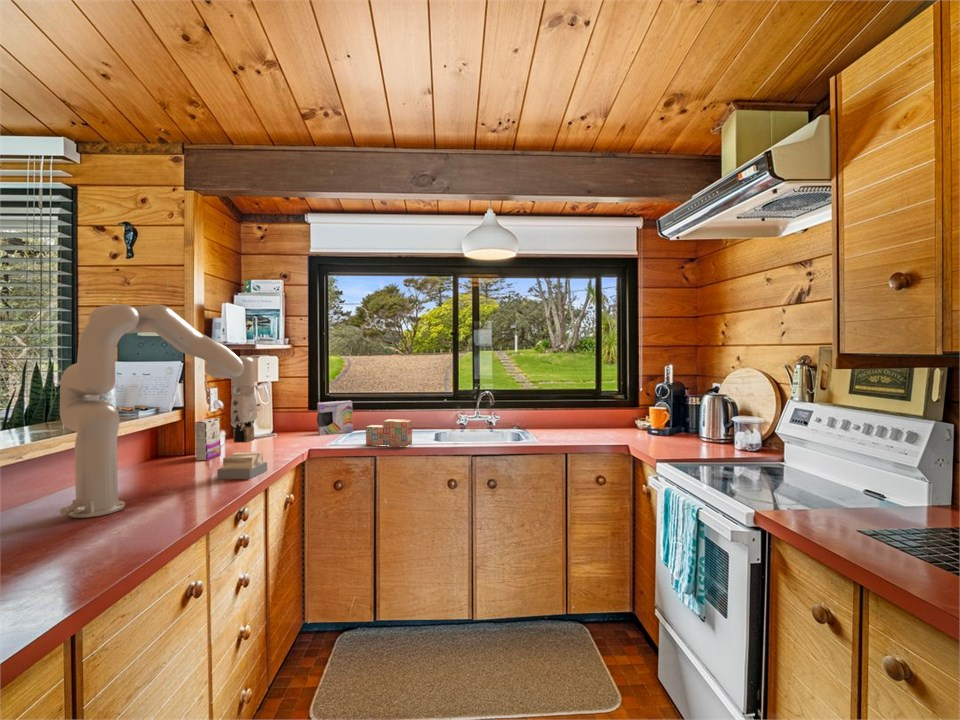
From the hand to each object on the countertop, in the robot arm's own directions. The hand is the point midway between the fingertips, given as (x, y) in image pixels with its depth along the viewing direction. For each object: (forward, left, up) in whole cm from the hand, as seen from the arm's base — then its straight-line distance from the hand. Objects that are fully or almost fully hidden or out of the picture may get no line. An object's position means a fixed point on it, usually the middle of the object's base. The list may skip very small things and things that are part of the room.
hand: (244, 439), depth 179 cm
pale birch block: (0, 0, -10) cm, 10 cm away
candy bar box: (+28, +32, -13) cm, 45 cm away
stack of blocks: (+58, -39, -13) cm, 71 cm away
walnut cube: (0, 0, -1) cm, 1 cm away
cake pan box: (+91, 0, -13) cm, 92 cm away
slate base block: (0, +1, -14) cm, 14 cm away
